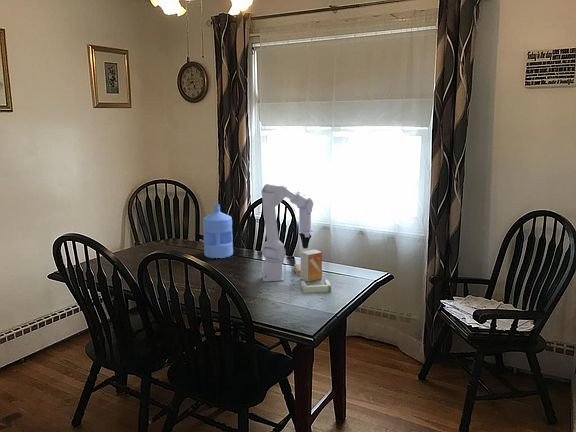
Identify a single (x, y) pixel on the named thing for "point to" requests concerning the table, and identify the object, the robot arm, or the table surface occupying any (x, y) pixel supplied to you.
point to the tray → (316, 287)
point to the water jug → (218, 234)
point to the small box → (311, 265)
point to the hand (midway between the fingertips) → (305, 247)
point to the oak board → (298, 269)
